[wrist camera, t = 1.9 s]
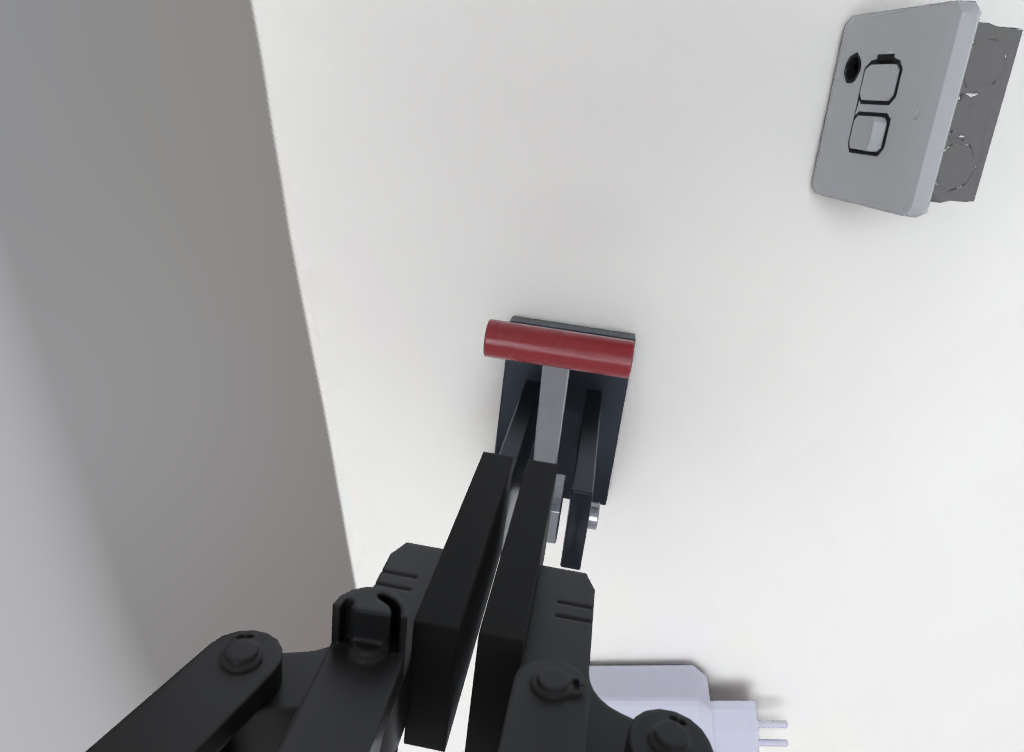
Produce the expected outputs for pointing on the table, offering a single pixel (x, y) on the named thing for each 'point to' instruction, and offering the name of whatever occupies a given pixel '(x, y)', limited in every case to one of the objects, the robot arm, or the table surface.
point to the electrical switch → (913, 107)
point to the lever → (556, 379)
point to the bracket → (565, 436)
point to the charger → (683, 703)
